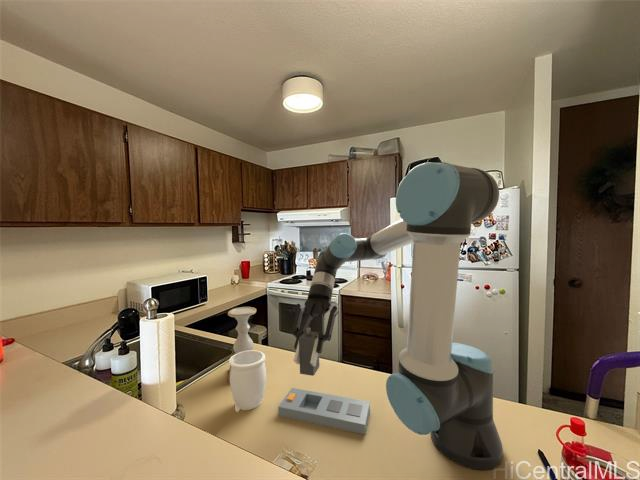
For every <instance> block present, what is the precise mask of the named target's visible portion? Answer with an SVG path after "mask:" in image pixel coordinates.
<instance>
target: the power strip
mask: <svg viewBox="0 0 640 480" xmlns="http://www.w3.org/2000/svg"><path fill="white" fill-rule="evenodd" d="M277 408H278V410H277V413H278V416H279V417H283V418H287V419H291V420H296V421H297V420H298V421H301V422H307V423H311V424H314V425H320V426H325V427H329V428H333V429H337V430H343V431H347V432H349V433H350V432H352V433H357V434H360V435H367V434H366V433H367V427H368V425H369V424H368V423H369V418H370V413H371V412H370V411H371V402H370V401H368V400H363V399H362V400H361V399H358V398H352V397H346V396H340V395H334V394H328V393H323V392H318V391H317V392H316V391H313V390H307V389H306V390H305V389H301V388H295V387H291V388H290V389H289V391H288V393H287V394H285V397H284V398H283V399H282V400H281V402H280V403H279V405H278V407H277Z"/></svg>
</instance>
